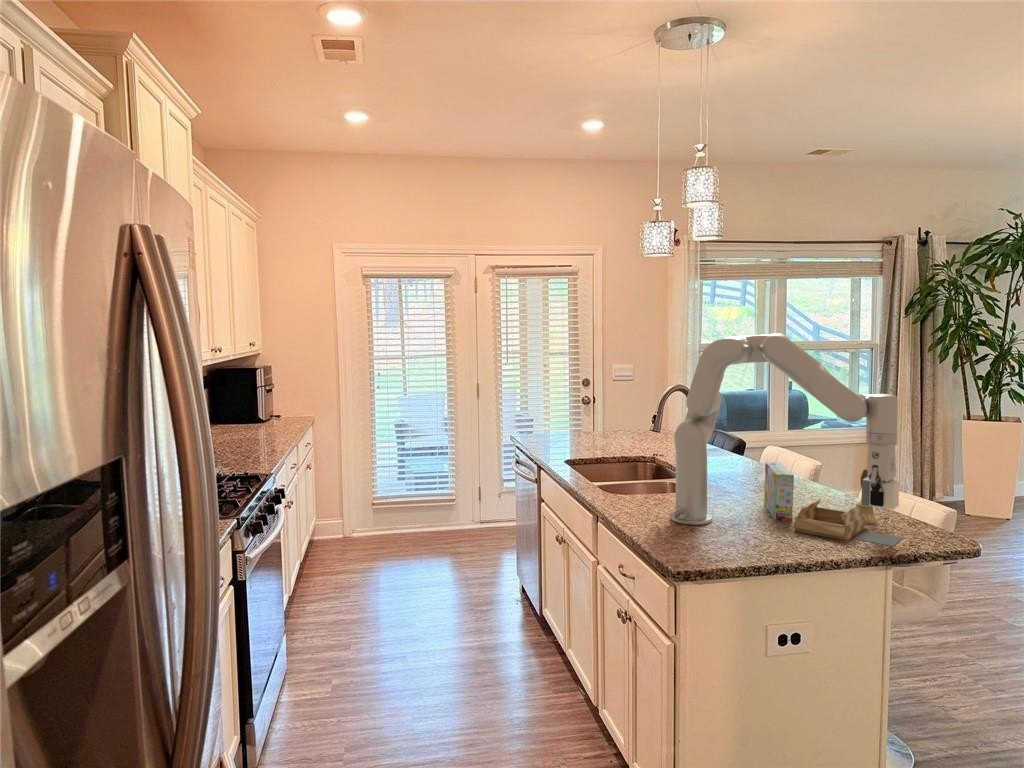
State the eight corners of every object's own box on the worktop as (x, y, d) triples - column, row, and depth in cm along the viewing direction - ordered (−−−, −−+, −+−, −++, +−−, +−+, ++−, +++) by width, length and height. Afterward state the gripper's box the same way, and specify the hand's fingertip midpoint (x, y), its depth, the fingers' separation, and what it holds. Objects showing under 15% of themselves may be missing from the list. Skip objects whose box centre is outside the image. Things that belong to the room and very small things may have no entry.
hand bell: (849, 515, 210) (851, 466, 209) (879, 519, 206) (881, 468, 204) (847, 522, 203) (849, 471, 202) (878, 526, 198) (880, 473, 197)
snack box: (794, 523, 203) (795, 474, 202) (774, 522, 204) (775, 474, 203) (780, 505, 224) (781, 461, 222) (762, 505, 225) (763, 461, 224)
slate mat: (893, 548, 178) (893, 546, 178) (853, 540, 185) (853, 538, 185) (903, 539, 185) (903, 537, 185) (864, 532, 192) (864, 530, 192)
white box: (893, 509, 180) (894, 483, 179) (861, 504, 185) (862, 479, 185) (898, 505, 183) (899, 480, 183) (867, 501, 189) (867, 476, 188)
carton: (843, 543, 182) (844, 517, 182) (792, 533, 192) (792, 509, 191) (866, 528, 196) (866, 504, 196) (817, 519, 206) (817, 496, 205)
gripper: (887, 444, 174) (885, 512, 176) (905, 436, 186) (903, 499, 188) (856, 441, 179) (855, 507, 181) (875, 433, 192) (874, 495, 193)
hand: (879, 502), depth 184 cm, fingers closed on white box, 5 cm apart
